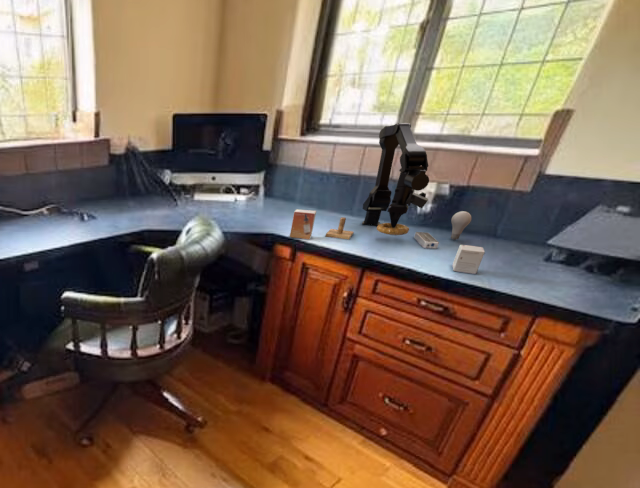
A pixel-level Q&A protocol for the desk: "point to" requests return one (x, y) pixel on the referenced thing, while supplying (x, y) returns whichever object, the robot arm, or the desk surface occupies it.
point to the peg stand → (340, 231)
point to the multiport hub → (426, 240)
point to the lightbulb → (459, 223)
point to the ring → (392, 229)
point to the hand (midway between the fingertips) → (393, 226)
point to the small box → (302, 224)
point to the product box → (468, 259)
